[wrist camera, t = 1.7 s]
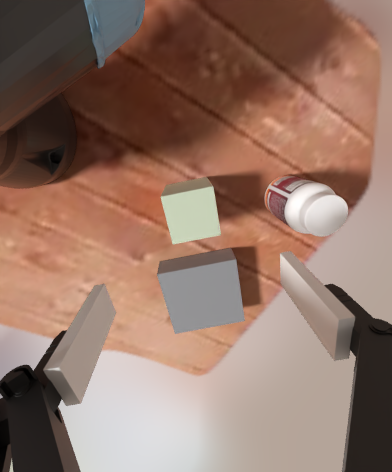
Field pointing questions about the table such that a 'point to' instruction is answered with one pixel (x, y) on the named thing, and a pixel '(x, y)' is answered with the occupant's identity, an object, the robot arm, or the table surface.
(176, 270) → the slate block
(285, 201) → the pill bottle
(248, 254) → the table surface
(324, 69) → the table surface
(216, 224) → the sage block
